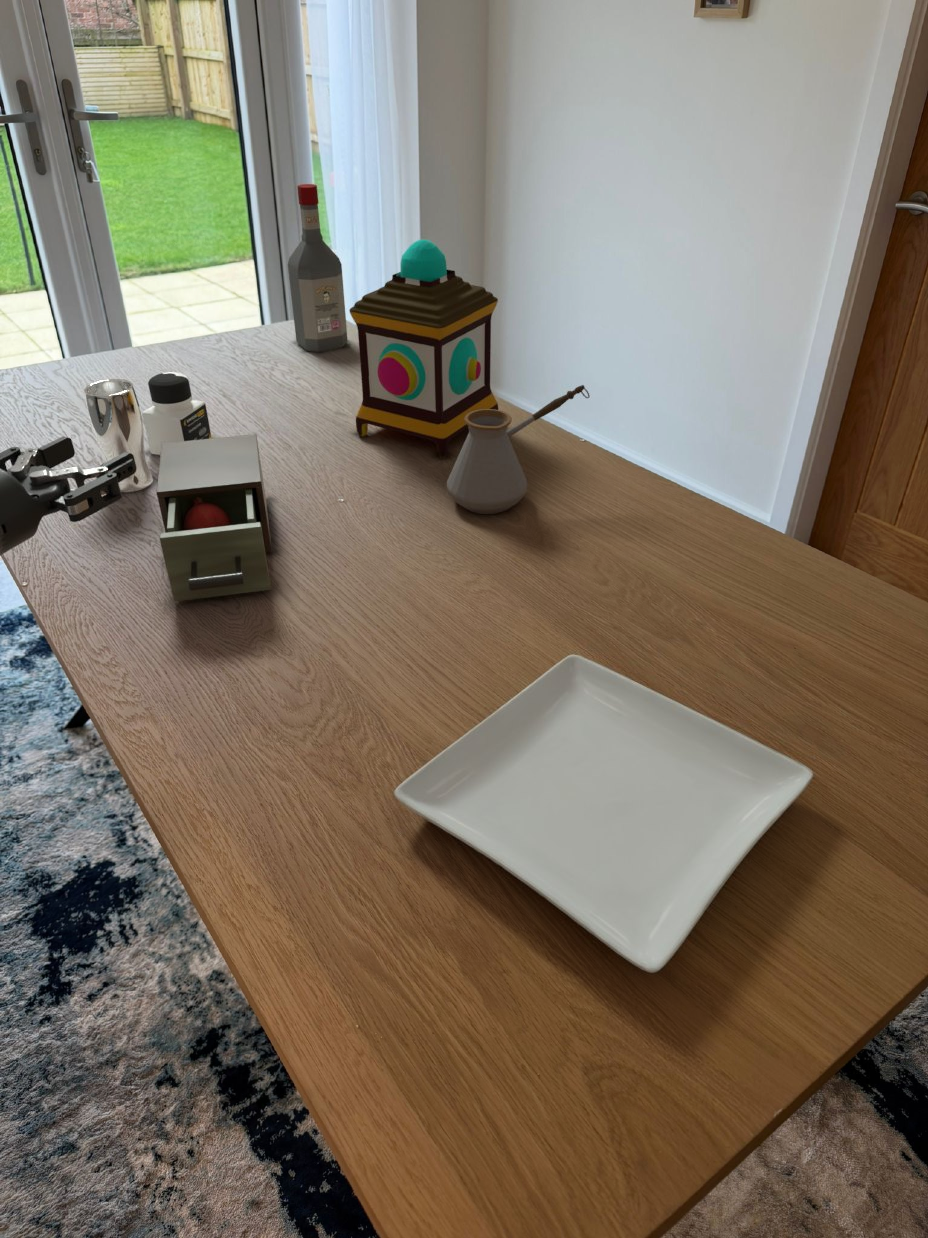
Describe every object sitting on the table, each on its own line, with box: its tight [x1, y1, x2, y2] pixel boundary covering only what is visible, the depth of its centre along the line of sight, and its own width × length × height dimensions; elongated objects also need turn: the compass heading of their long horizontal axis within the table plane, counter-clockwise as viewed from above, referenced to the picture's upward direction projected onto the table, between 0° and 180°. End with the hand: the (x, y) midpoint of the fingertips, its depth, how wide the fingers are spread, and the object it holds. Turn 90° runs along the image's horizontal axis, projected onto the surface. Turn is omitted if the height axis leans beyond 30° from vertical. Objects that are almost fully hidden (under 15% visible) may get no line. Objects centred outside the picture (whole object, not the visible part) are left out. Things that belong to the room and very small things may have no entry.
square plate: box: [393, 653, 814, 974], centre depth 80 cm, size 27×27×4 cm
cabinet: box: [156, 433, 273, 554], centre depth 119 cm, size 15×13×11 cm
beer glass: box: [83, 378, 154, 493], centre depth 129 cm, size 7×7×15 cm
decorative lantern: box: [349, 238, 499, 459], centre depth 141 cm, size 20×20×30 cm
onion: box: [184, 497, 232, 531], centre depth 112 cm, size 6×6×8 cm
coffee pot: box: [446, 384, 590, 515], centre depth 126 cm, size 21×12×15 cm, turn 115°
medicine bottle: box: [141, 371, 213, 456], centre depth 140 cm, size 7×7×12 cm
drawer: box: [159, 488, 272, 603], centre depth 108 cm, size 19×11×9 cm, turn 13°
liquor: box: [287, 183, 348, 353], centre depth 176 cm, size 9×9×30 cm
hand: (101, 453), depth 92 cm, fingers open, 8 cm apart
